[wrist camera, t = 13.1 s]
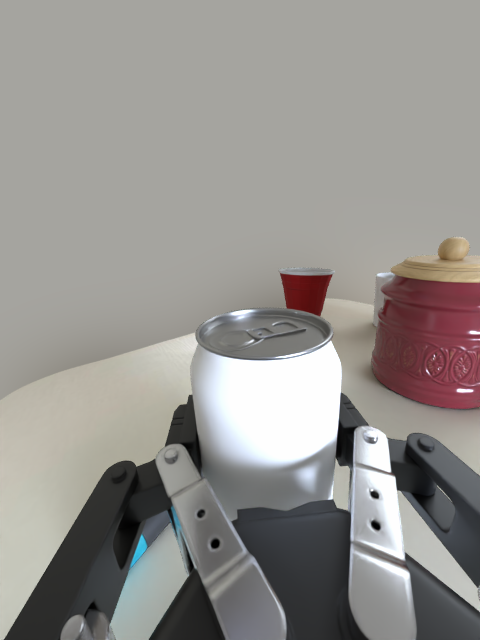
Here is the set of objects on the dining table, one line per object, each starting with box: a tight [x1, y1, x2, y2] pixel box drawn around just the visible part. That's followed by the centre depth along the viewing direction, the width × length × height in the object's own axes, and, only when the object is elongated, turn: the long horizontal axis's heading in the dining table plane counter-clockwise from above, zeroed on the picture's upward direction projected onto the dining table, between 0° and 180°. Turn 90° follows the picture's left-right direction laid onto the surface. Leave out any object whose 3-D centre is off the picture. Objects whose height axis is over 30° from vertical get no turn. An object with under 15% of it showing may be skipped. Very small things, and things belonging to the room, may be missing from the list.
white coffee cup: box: [373, 272, 395, 327], centre depth 49 cm, size 7×7×10 cm
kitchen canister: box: [371, 237, 480, 409], centre depth 30 cm, size 13×13×18 cm
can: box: [190, 308, 341, 521], centre depth 13 cm, size 6×6×12 cm
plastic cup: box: [279, 268, 335, 317], centre depth 52 cm, size 11×11×12 cm
